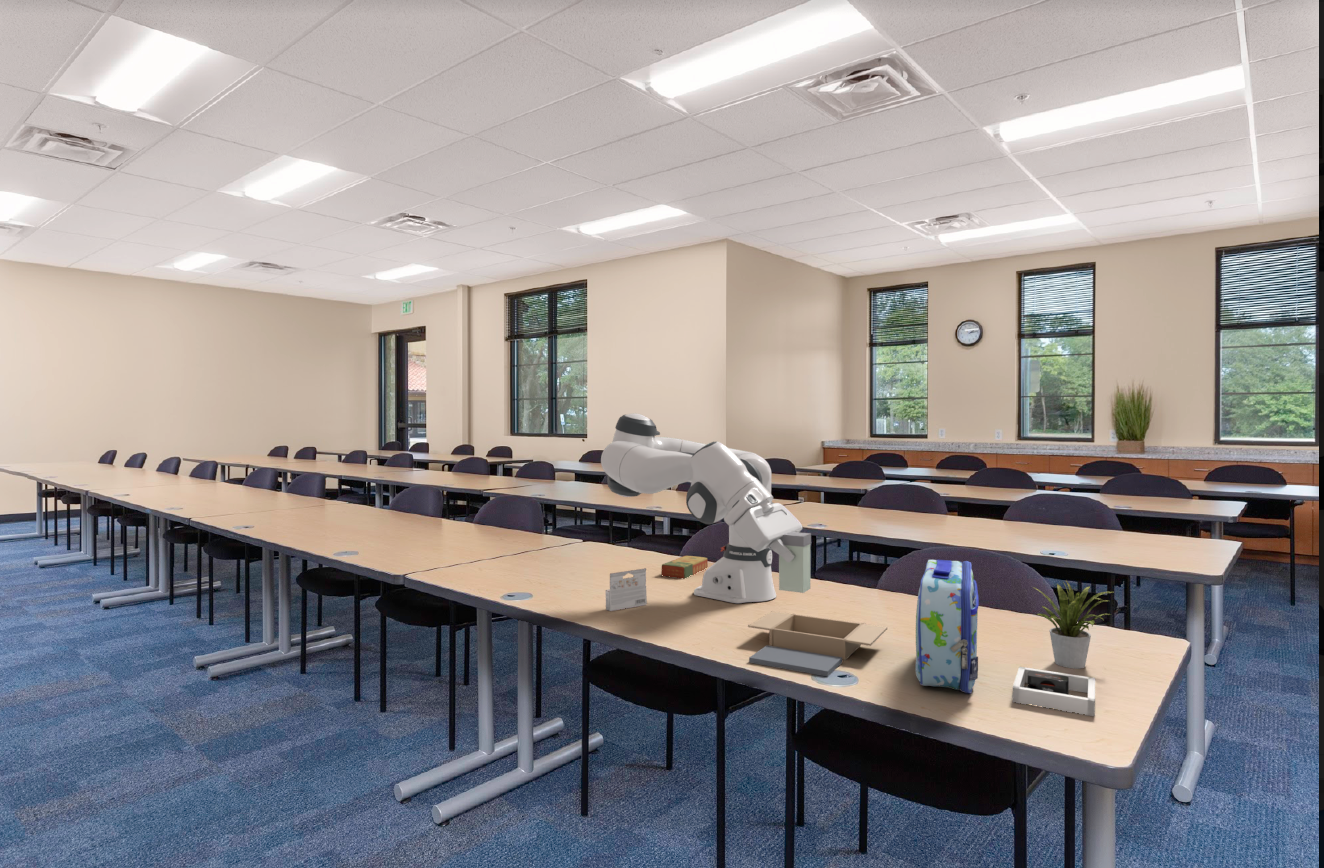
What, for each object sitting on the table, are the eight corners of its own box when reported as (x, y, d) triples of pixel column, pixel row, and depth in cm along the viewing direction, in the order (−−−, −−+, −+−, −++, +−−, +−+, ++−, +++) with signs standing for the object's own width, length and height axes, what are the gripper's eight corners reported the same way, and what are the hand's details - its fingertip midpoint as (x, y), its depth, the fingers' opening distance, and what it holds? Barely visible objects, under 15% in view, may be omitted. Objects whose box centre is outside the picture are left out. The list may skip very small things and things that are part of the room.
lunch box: (979, 703, 123) (979, 580, 123) (912, 694, 128) (912, 575, 127) (977, 656, 148) (977, 553, 147) (920, 650, 152) (920, 549, 151)
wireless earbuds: (1023, 688, 131) (1023, 670, 131) (1068, 695, 127) (1068, 676, 127) (1021, 696, 127) (1021, 678, 127) (1068, 704, 123) (1068, 685, 123)
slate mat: (749, 662, 145) (749, 657, 145) (766, 650, 153) (766, 645, 153) (827, 676, 137) (827, 671, 137) (842, 662, 144) (842, 657, 144)
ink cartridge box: (605, 609, 186) (604, 571, 186) (642, 603, 192) (641, 566, 192) (609, 612, 184) (609, 573, 184) (647, 605, 190) (646, 568, 190)
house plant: (1138, 674, 136) (1139, 587, 136) (1079, 682, 133) (1080, 593, 132) (1075, 651, 150) (1075, 572, 150) (1020, 658, 146) (1020, 576, 146)
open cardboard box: (747, 644, 157) (747, 625, 156) (772, 628, 168) (772, 610, 168) (870, 664, 143) (870, 644, 143) (887, 645, 155) (887, 626, 155)
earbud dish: (1012, 702, 124) (1012, 687, 124) (1019, 680, 134) (1019, 666, 134) (1094, 716, 118) (1094, 701, 117) (1095, 692, 128) (1095, 678, 128)
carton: (708, 570, 234) (708, 557, 234) (684, 580, 221) (684, 566, 220) (685, 567, 239) (685, 554, 238) (660, 577, 225) (660, 563, 225)
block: (778, 590, 144) (778, 534, 144) (786, 585, 147) (786, 531, 147) (803, 593, 141) (803, 536, 141) (811, 588, 145) (810, 533, 144)
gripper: (761, 509, 159) (804, 558, 154) (719, 521, 141) (767, 577, 136) (781, 490, 156) (825, 539, 152) (740, 499, 139) (789, 555, 134)
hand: (797, 557), depth 144 cm, fingers closed on block, 4 cm apart
